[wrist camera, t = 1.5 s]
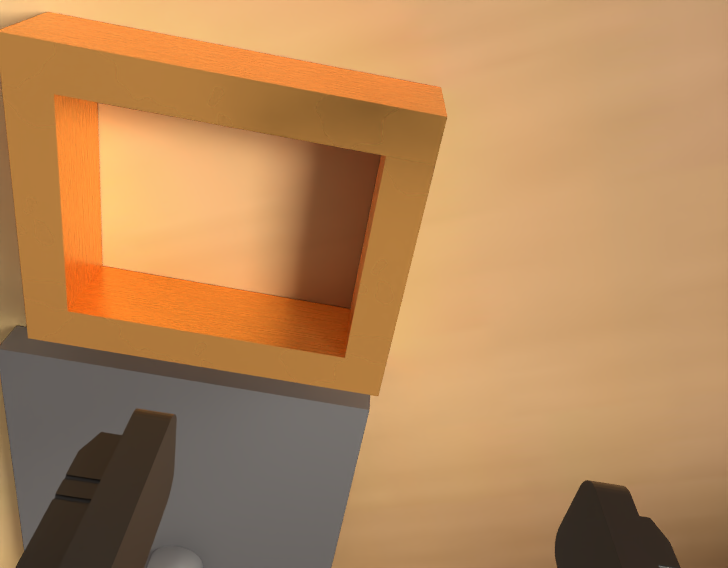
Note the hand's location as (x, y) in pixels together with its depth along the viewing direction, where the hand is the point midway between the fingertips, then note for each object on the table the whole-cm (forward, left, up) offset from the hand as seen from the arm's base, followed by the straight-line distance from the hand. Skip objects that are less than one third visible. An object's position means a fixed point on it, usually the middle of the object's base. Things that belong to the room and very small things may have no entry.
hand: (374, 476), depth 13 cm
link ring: (+5, 0, -12) cm, 13 cm away
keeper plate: (+6, +16, -12) cm, 21 cm away
